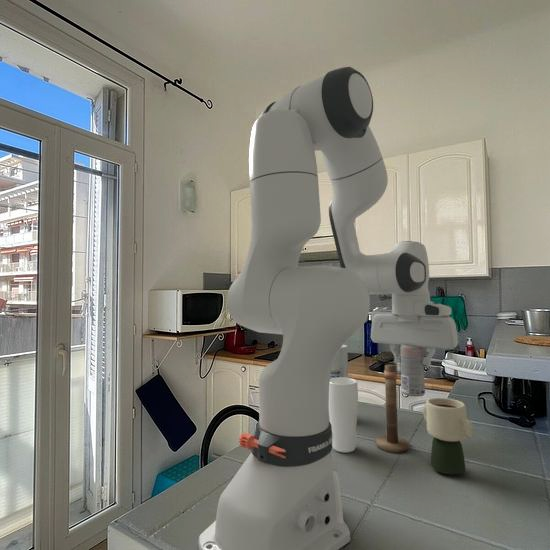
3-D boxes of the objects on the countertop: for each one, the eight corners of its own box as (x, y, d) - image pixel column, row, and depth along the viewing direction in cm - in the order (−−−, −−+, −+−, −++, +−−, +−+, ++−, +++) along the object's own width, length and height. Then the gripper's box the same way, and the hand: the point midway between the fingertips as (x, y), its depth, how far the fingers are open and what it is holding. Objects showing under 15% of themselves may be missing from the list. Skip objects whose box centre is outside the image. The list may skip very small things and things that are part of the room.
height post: (402, 456, 74) (399, 370, 75) (371, 447, 79) (369, 366, 80) (413, 445, 80) (411, 365, 81) (384, 437, 84) (381, 361, 85)
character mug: (486, 479, 65) (483, 408, 65) (459, 488, 62) (457, 413, 63) (438, 455, 75) (436, 393, 75) (412, 461, 72) (411, 397, 73)
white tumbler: (357, 457, 74) (355, 385, 75) (325, 452, 76) (324, 383, 77) (360, 444, 81) (359, 378, 81) (331, 440, 83) (330, 376, 84)
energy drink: (420, 391, 88) (419, 342, 88) (428, 397, 82) (426, 345, 83) (399, 390, 88) (397, 342, 89) (404, 396, 83) (403, 345, 84)
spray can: (321, 419, 97) (320, 346, 98) (332, 412, 102) (330, 343, 103) (342, 423, 93) (341, 348, 94) (353, 416, 98) (351, 345, 100)
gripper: (366, 307, 91) (366, 361, 90) (451, 308, 78) (453, 371, 77) (376, 306, 96) (377, 357, 95) (458, 308, 82) (460, 367, 82)
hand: (412, 364), depth 86 cm, fingers closed on energy drink, 5 cm apart
